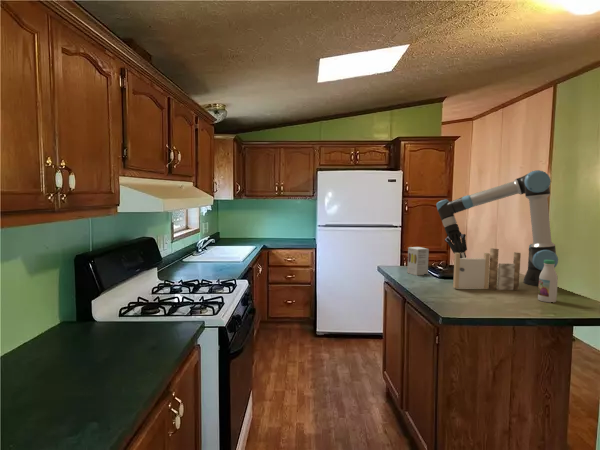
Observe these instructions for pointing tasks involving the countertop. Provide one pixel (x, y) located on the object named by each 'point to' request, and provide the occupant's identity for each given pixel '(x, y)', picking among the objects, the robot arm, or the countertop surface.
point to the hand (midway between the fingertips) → (465, 263)
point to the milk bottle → (548, 282)
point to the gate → (471, 272)
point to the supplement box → (418, 260)
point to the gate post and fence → (503, 272)
